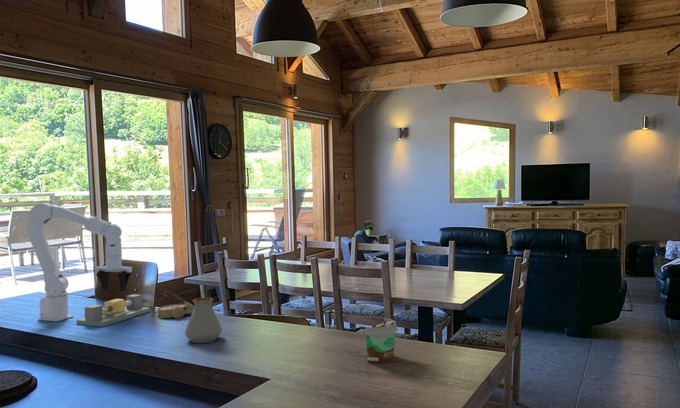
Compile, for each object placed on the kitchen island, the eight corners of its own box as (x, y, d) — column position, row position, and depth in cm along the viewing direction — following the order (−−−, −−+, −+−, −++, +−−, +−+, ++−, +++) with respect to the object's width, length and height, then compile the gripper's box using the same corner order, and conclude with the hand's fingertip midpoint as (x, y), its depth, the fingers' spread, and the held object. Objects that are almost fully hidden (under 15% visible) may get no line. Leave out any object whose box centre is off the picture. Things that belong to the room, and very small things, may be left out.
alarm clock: (171, 303, 200) (200, 300, 194) (173, 316, 200) (202, 312, 194) (149, 309, 190) (179, 306, 184) (151, 322, 190) (181, 319, 184)
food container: (385, 368, 131) (385, 330, 131) (365, 364, 134) (364, 327, 134) (405, 355, 142) (404, 320, 141) (385, 351, 145) (385, 317, 145)
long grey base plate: (76, 324, 180) (76, 306, 180) (126, 309, 203) (125, 293, 203) (102, 326, 176) (102, 308, 176) (149, 311, 199) (149, 295, 199)
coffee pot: (229, 336, 162) (228, 290, 162) (206, 346, 152) (206, 297, 151) (177, 330, 171) (176, 286, 170) (152, 339, 160) (151, 293, 160)
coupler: (103, 315, 187) (103, 302, 187) (117, 311, 194) (117, 298, 193) (111, 316, 186) (111, 302, 185) (125, 312, 192) (125, 299, 192)
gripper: (90, 256, 192) (90, 291, 193) (123, 257, 189) (124, 292, 190) (102, 254, 199) (103, 288, 200) (135, 254, 196) (135, 289, 197)
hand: (114, 290), depth 195 cm, fingers open, 7 cm apart
